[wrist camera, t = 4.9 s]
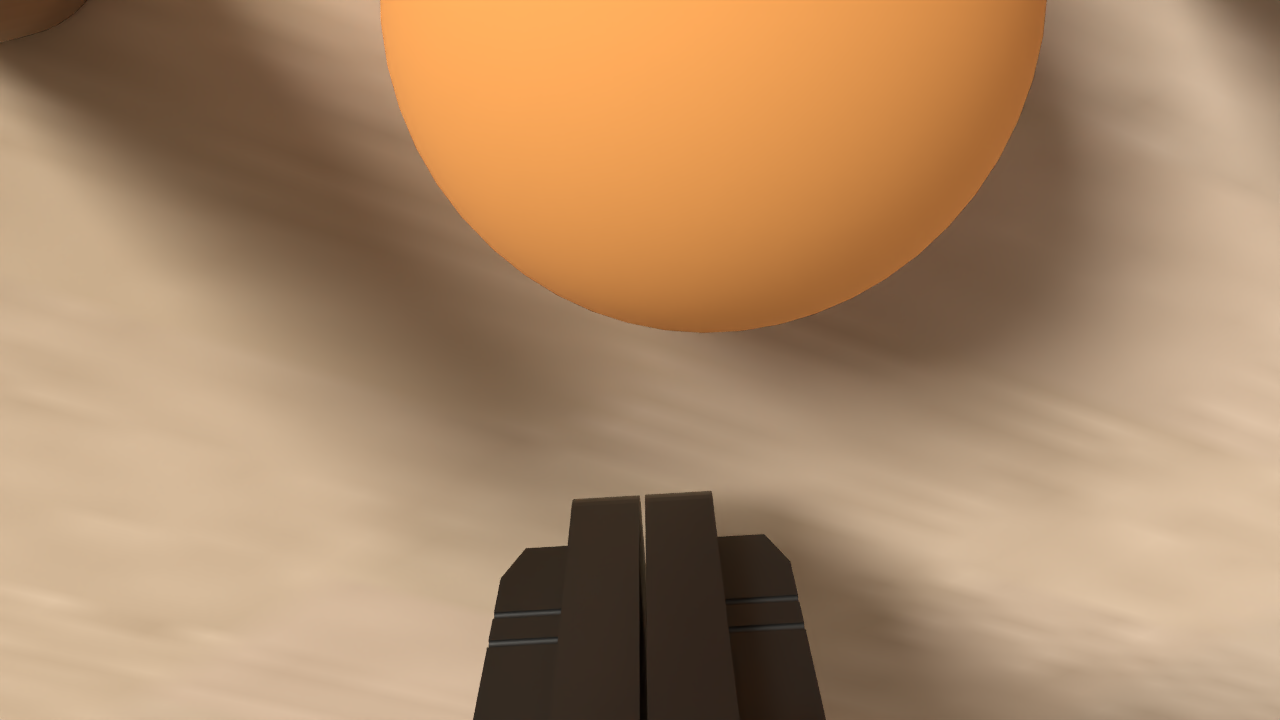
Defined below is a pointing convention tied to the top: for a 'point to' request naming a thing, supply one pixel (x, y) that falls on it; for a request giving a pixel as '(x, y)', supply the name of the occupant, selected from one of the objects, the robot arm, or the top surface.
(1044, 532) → the top surface
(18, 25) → the post
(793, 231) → the ball
